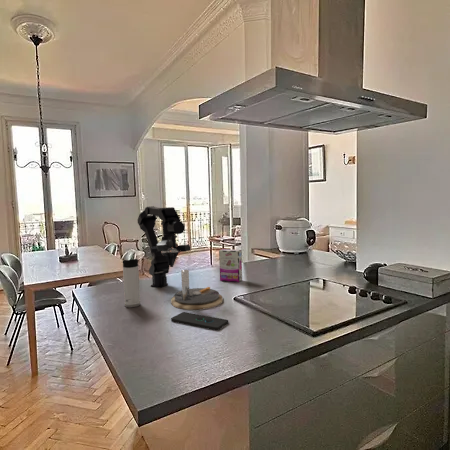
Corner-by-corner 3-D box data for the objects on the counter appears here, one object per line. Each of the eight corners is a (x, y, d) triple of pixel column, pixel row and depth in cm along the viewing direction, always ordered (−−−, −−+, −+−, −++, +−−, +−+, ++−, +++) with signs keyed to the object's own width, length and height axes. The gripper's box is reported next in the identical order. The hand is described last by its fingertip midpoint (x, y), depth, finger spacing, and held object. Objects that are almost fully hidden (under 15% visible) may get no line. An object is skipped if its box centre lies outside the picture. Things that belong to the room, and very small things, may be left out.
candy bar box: (242, 280, 184) (242, 249, 183) (239, 282, 180) (238, 251, 178) (223, 278, 189) (222, 248, 187) (219, 280, 184) (218, 250, 182)
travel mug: (126, 308, 142) (124, 260, 141) (123, 304, 148) (121, 257, 146) (142, 306, 145) (139, 258, 143) (138, 302, 151) (136, 256, 149)
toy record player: (191, 289, 163) (191, 260, 162) (227, 294, 154) (226, 264, 153) (165, 301, 146) (164, 269, 145) (203, 307, 137) (202, 273, 136)
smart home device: (217, 327, 117) (170, 318, 127) (217, 332, 117) (170, 322, 127) (229, 319, 124) (183, 311, 134) (229, 324, 125) (183, 315, 134)
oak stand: (160, 305, 145) (160, 302, 145) (188, 291, 165) (188, 288, 165) (207, 312, 136) (207, 309, 135) (231, 296, 156) (231, 293, 155)
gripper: (142, 236, 160) (145, 270, 161) (177, 234, 153) (180, 269, 154) (156, 234, 171) (158, 266, 171) (189, 232, 164) (192, 265, 164)
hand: (171, 266), depth 165 cm, fingers closed
